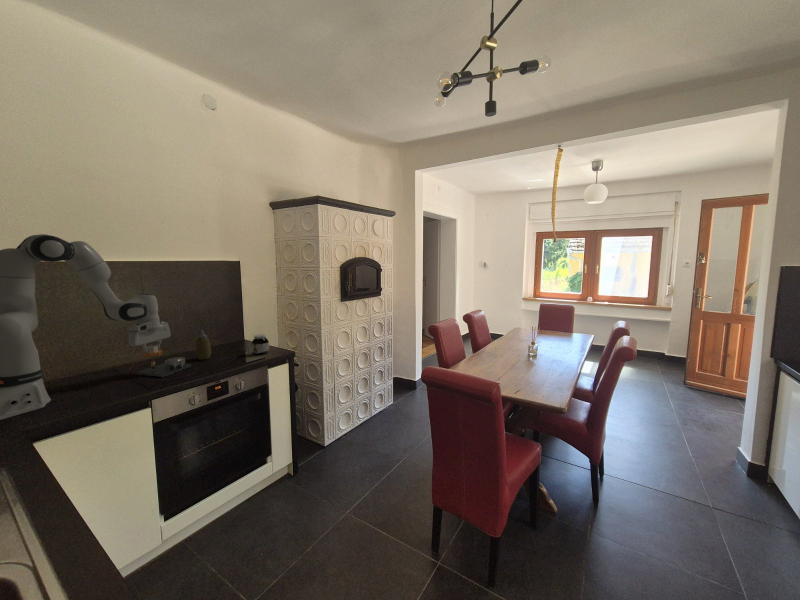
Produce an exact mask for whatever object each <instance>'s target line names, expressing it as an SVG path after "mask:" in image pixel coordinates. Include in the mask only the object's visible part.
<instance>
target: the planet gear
mask: <svg viewBox="0 0 800 600" xmlns="http://www.w3.org/2000/svg"><path fill="white" fill-rule="evenodd" d="M146 347H147V348H149V351H148V352H144V351H143V352H142V353H141V357H143V358H153V357H157V356H161V355H163V354H164V350H162V349H158V345H156V344H155V345H148V346H146Z"/></svg>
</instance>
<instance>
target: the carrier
mask: <svg viewBox="0 0 800 600" xmlns="http://www.w3.org/2000/svg"><path fill="white" fill-rule="evenodd" d="M191 366H192V364H191V363H186V357H183V356H180V357H179V356H175V357H171V358H167V359H165V360H164V362H163V363H160V364H158V365H157V364H156V361H155V360H152V361H150V367H148V368H145V369H143V370H139V371H137V372H136V376H141V375H145V376H144V377H152V376H156V377H155V378H163V377H164V378H165V376H166V377H169V376H171V375H174V374H176V373H175V372H177V373H179V372H182V371H184V370H183V369H185V370H187V369H189V367H190V368H192V367H191ZM186 368H187V369H186ZM181 370H182V371H181ZM178 371H179V372H178ZM173 373H174V374H173ZM170 374H171V375H170ZM168 375H169V376H168Z"/></svg>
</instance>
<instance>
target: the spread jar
mask: <svg viewBox="0 0 800 600" xmlns="http://www.w3.org/2000/svg"><path fill="white" fill-rule="evenodd" d="M269 350H270V343H269V340H268V338H267V337H266V334H262V333H261V334H255V335H254V336H253V339H252V341H251V343H249V344H248V345H247V348H246V356H247V355H248V356H250V355H252V354H254V355H256V354H257V355H259V356H260V355H265V354H267V353H268V352H269Z"/></svg>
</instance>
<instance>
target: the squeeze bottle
mask: <svg viewBox="0 0 800 600" xmlns="http://www.w3.org/2000/svg"><path fill="white" fill-rule="evenodd" d="M199 332H200V334H199V335H197V339H196V341H195V343H196V344H195V355H196V357H197V359H198V360H201V361H203V360H204V359H205V360H208V359H210V358H211V354H212V349H211V343H210V338H208V335H207V334H205V331H204V329H202V328H201V329H200V331H199Z"/></svg>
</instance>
